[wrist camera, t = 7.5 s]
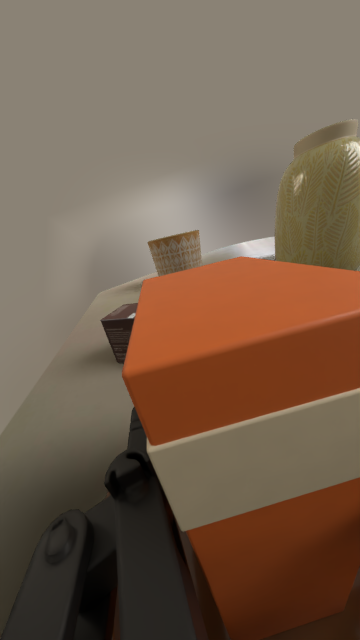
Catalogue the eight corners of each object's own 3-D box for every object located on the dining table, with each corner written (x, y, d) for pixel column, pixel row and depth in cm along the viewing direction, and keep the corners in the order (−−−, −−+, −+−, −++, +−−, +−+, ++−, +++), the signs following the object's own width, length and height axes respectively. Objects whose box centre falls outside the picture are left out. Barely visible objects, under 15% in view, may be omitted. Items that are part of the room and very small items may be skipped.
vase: (323, 264, 54) (332, 145, 44) (388, 273, 38) (426, 90, 28) (263, 278, 55) (258, 163, 44) (303, 292, 39) (310, 118, 28)
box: (136, 342, 34) (123, 304, 31) (166, 341, 32) (155, 300, 29) (116, 363, 29) (98, 320, 26) (151, 364, 27) (136, 317, 24)
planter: (164, 290, 67) (152, 239, 60) (154, 282, 84) (144, 242, 78) (214, 275, 71) (207, 227, 64) (194, 271, 88) (187, 233, 82)
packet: (232, 652, 7) (113, 378, 2) (195, 464, 13) (141, 280, 8) (347, 612, 7) (478, 282, 2) (258, 446, 13) (243, 255, 8)
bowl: (61, 1181, 4) (-77, 1437, 2) (132, 438, 17) (119, 409, 16) (724, 873, 4) (930, 922, 3) (288, 394, 18) (288, 364, 16)
